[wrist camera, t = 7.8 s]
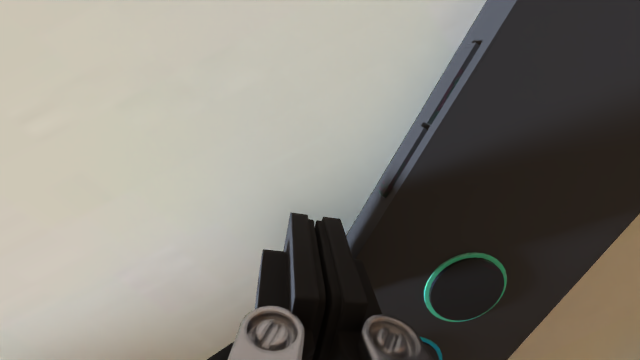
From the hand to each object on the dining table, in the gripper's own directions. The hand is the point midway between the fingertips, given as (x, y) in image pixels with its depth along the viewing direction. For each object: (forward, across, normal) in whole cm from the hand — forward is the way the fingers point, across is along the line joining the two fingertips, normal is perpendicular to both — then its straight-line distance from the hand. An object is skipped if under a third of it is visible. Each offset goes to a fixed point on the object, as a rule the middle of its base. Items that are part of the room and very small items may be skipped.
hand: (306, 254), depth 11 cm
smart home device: (+1, -6, 0) cm, 6 cm away
